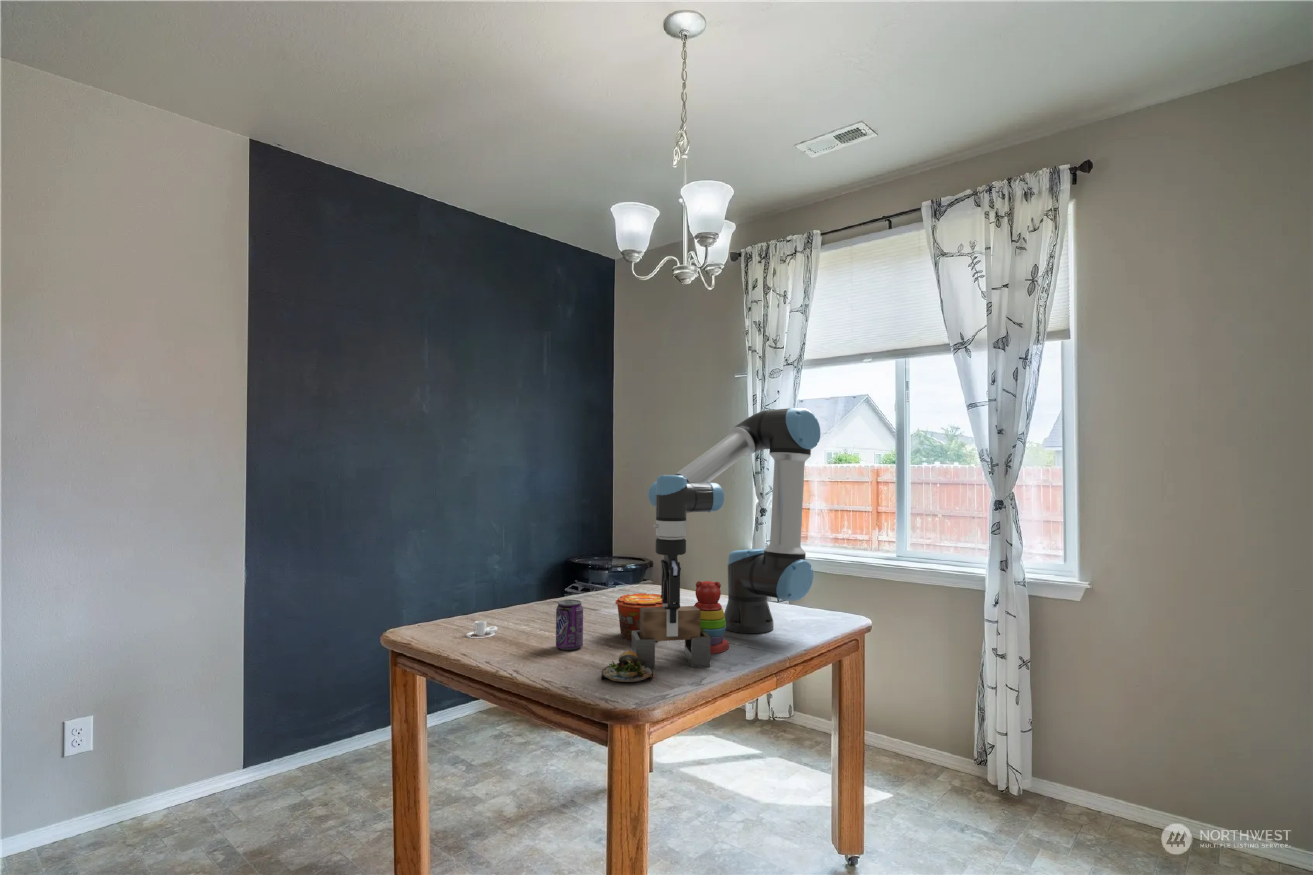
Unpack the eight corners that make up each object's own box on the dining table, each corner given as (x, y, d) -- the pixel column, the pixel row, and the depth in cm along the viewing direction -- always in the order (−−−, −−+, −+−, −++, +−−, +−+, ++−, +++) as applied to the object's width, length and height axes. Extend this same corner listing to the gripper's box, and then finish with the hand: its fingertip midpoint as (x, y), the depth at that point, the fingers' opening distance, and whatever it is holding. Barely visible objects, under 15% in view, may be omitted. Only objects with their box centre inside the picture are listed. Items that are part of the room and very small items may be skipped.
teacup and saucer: (496, 631, 200) (496, 617, 200) (499, 638, 193) (499, 623, 193) (465, 633, 198) (465, 619, 198) (466, 640, 190) (466, 625, 190)
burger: (591, 683, 154) (592, 649, 154) (615, 668, 165) (616, 637, 165) (640, 690, 149) (640, 655, 150) (662, 675, 160) (662, 642, 160)
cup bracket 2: (702, 656, 175) (702, 628, 175) (710, 666, 166) (710, 637, 166) (684, 656, 174) (684, 628, 174) (692, 667, 165) (692, 638, 165)
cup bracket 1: (636, 669, 163) (636, 639, 163) (631, 658, 172) (631, 630, 172) (654, 669, 164) (654, 639, 164) (649, 658, 173) (649, 630, 173)
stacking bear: (729, 644, 186) (729, 578, 186) (727, 655, 176) (727, 585, 176) (689, 642, 187) (690, 576, 188) (685, 653, 177) (685, 583, 178)
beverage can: (552, 645, 184) (553, 600, 184) (578, 643, 187) (578, 598, 187) (559, 652, 177) (560, 605, 178) (586, 649, 180) (586, 603, 180)
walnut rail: (694, 633, 173) (694, 605, 173) (700, 638, 168) (700, 609, 168) (639, 636, 170) (640, 607, 170) (643, 641, 165) (644, 612, 165)
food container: (623, 646, 184) (624, 605, 184) (609, 631, 199) (609, 594, 199) (680, 641, 189) (680, 601, 189) (661, 627, 204) (661, 591, 204)
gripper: (650, 533, 178) (649, 624, 177) (661, 542, 160) (660, 643, 159) (678, 533, 179) (678, 623, 179) (693, 541, 161) (692, 642, 160)
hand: (669, 632), depth 169 cm, fingers closed on walnut rail, 5 cm apart
